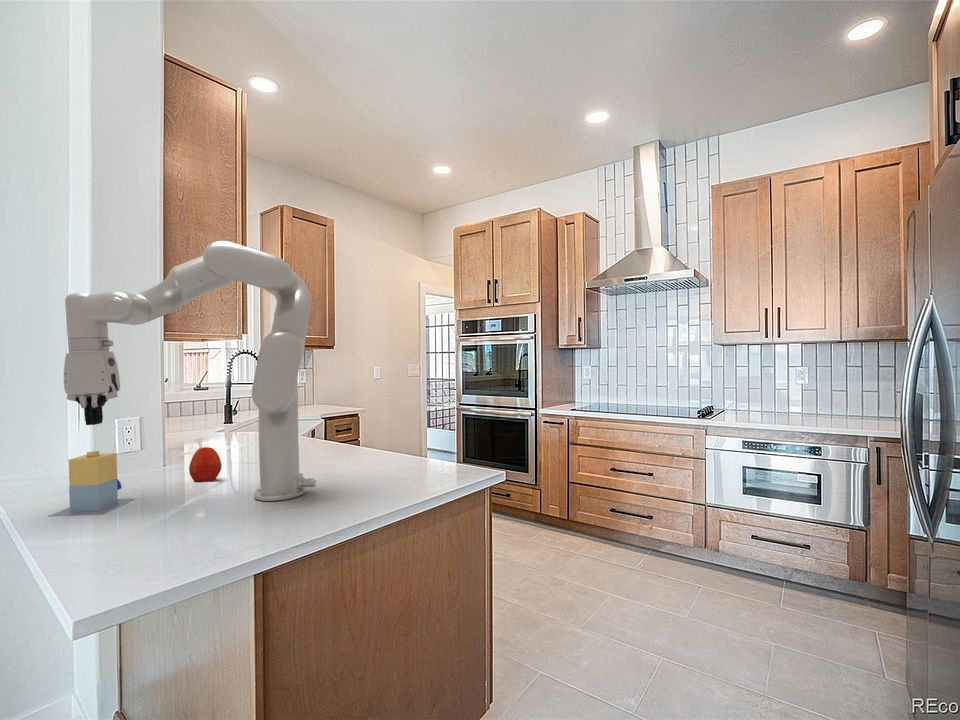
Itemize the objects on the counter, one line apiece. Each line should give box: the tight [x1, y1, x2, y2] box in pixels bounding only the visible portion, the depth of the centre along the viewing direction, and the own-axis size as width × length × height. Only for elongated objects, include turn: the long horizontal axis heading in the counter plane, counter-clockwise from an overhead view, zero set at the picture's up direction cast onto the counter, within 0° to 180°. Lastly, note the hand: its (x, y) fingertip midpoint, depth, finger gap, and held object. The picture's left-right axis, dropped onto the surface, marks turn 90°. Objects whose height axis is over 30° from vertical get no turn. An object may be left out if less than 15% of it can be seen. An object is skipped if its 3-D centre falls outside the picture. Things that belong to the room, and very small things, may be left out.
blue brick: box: [68, 477, 119, 512], centre depth 117 cm, size 6×6×7 cm
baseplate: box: [47, 497, 138, 518], centre depth 117 cm, size 12×12×2 cm
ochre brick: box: [68, 450, 118, 487], centre depth 117 cm, size 6×6×7 cm
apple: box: [188, 446, 223, 483], centre depth 141 cm, size 8×8×11 cm
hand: (94, 423), depth 117 cm, fingers closed
